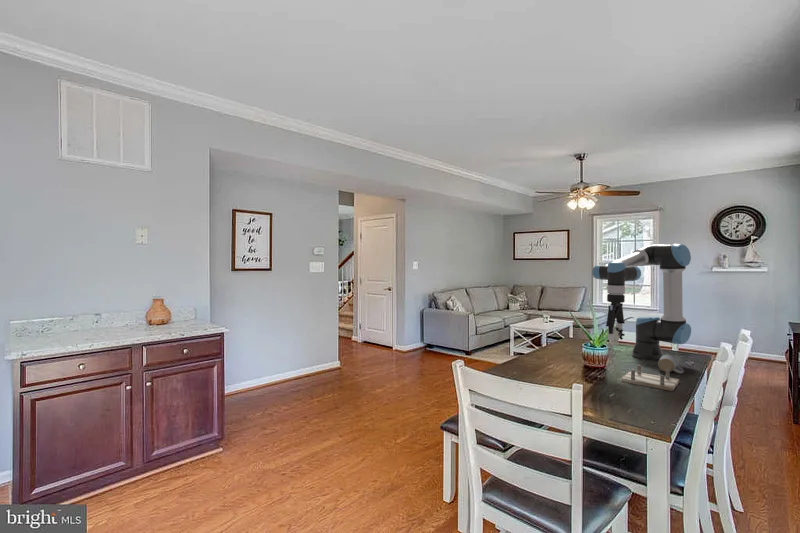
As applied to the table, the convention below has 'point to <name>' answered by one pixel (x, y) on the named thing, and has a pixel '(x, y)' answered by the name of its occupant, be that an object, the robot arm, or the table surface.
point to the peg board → (651, 379)
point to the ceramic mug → (669, 364)
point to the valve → (617, 337)
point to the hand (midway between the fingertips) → (615, 338)
